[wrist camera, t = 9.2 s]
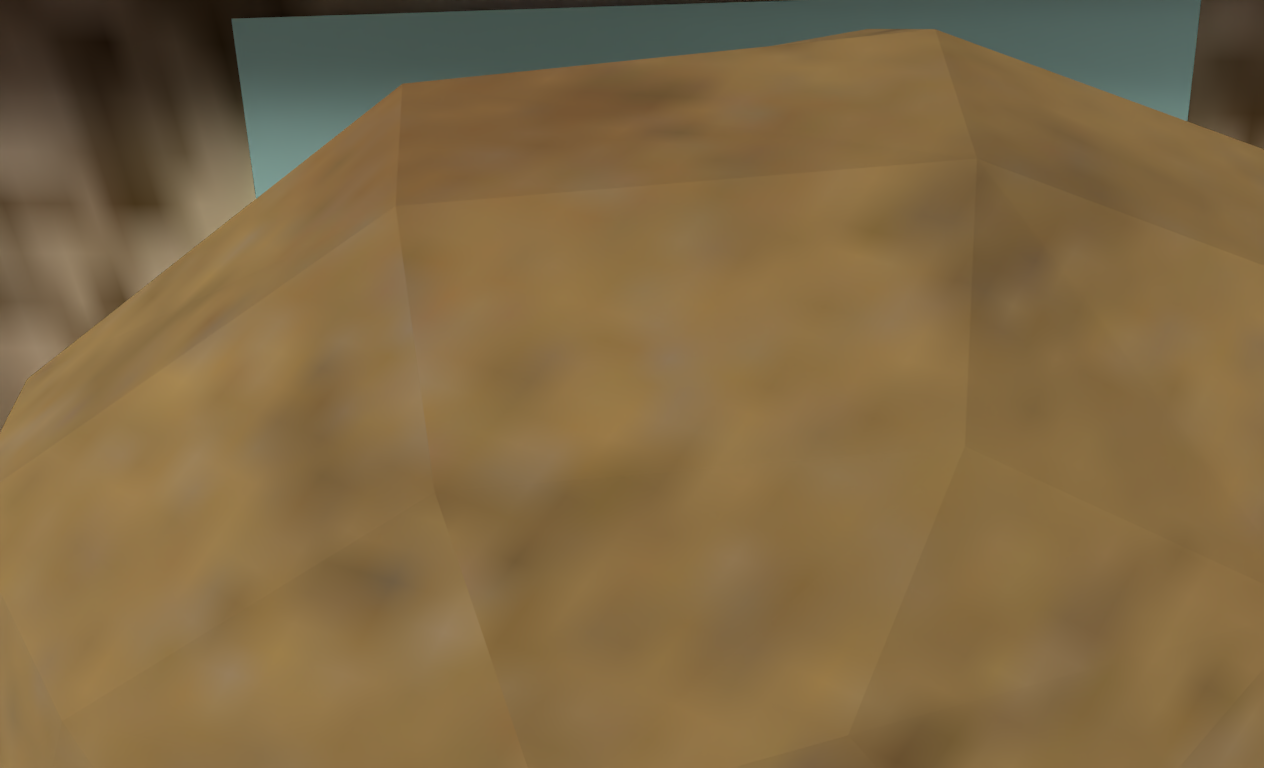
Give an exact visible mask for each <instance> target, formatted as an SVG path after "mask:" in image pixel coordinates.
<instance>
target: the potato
mask: <svg viewBox="0 0 1264 768" xmlns="http://www.w3.org/2000/svg"><path fill="white" fill-rule="evenodd" d="M0 768H1264V149H1261V148H1259V147H1256V146H1253V145H1250V144H1248V143H1245V142H1242V141H1240V140H1237V139H1234V138H1231V137H1229V136H1226V135H1223V134H1220V133H1218V132H1215V131H1212V130H1209V129H1207V128H1204V127H1201V126H1199V125H1196V124H1193V123H1190V122H1188V121H1185V120H1182V119H1179V118H1177V117H1174V116H1171V115H1168V114H1166V113H1163V112H1160V111H1157V110H1155V109H1152V108H1149V107H1147V106H1144V105H1141V104H1138V103H1136V102H1133V101H1130V100H1127V99H1125V98H1122V97H1119V96H1116V95H1114V94H1111V93H1108V92H1106V91H1103V90H1100V89H1097V88H1095V87H1092V86H1089V85H1086V84H1084V83H1081V82H1078V81H1075V80H1073V79H1070V78H1067V77H1065V76H1062V75H1059V74H1056V73H1054V72H1051V71H1048V70H1045V69H1043V68H1040V67H1037V66H1034V65H1032V64H1029V63H1026V62H1023V61H1021V60H1018V59H1015V58H1013V57H1010V56H1007V55H1004V54H1002V53H999V52H996V51H993V50H991V49H988V48H985V47H982V46H980V45H977V44H974V43H972V42H969V41H966V40H963V39H961V38H958V37H955V36H952V35H950V34H947V33H944V32H941V31H939V30H936V29H864V30H859V31H853V32H847V33H842V34H836V35H830V36H825V37H819V38H813V39H808V40H802V41H796V42H791V43H785V44H779V45H774V46H766V47H756V48H746V49H736V50H727V51H717V52H707V53H697V54H687V55H678V56H668V57H658V58H648V59H639V60H629V61H619V62H609V63H599V64H590V65H580V66H570V67H560V68H551V69H541V70H531V71H521V72H511V73H502V74H492V75H482V76H472V77H463V78H453V79H443V80H433V81H423V82H414V83H404V84H401V85H400V86H399V87H398V88H396V89H395V90H394V91H392V92H391V93H390V94H389V95H387V96H386V97H385V98H384V99H382V100H381V101H380V102H378V103H377V104H376V105H375V106H373V107H372V108H371V109H370V110H368V111H367V112H366V113H365V114H363V115H362V116H361V117H359V118H358V119H357V120H356V121H354V122H353V123H352V124H351V125H349V126H348V127H347V128H345V129H344V130H343V131H342V132H340V133H339V134H338V135H337V136H335V137H334V138H333V139H332V140H330V141H329V142H328V143H326V144H325V145H324V146H323V147H321V148H320V149H319V150H318V151H316V152H315V153H314V154H312V155H311V156H310V157H309V158H307V159H306V160H305V161H304V162H302V163H301V164H300V165H298V166H297V167H296V168H295V169H293V170H292V171H291V172H290V173H288V174H287V175H286V176H285V177H283V178H282V179H281V180H279V181H278V182H277V183H276V184H274V185H273V186H272V187H271V188H269V189H268V190H267V191H265V192H264V193H263V194H262V195H260V196H259V197H258V198H257V199H255V200H254V201H253V202H251V203H250V204H249V205H248V206H246V207H245V208H244V209H243V210H241V211H240V212H239V213H238V214H236V215H235V216H234V217H232V218H231V219H230V220H229V221H227V222H226V223H225V224H224V225H222V226H221V227H220V228H218V229H217V230H216V231H215V232H213V233H212V234H211V235H210V236H208V237H207V238H206V239H205V240H203V241H202V242H201V243H199V244H198V245H197V246H196V247H194V248H193V249H192V250H191V251H189V252H188V253H187V254H185V255H184V256H183V257H182V258H180V259H179V260H178V261H177V262H175V263H174V264H173V265H171V266H170V267H169V268H168V269H166V270H165V271H164V272H163V273H161V274H160V275H159V276H158V277H156V278H155V279H154V280H152V281H151V282H150V283H149V284H147V285H146V286H145V287H144V288H142V289H141V290H140V291H138V292H137V293H136V294H135V295H133V296H132V297H131V298H130V299H128V300H127V301H126V302H125V303H123V304H122V305H121V306H119V307H118V308H117V309H116V310H114V311H113V312H112V313H111V314H109V315H108V316H107V317H105V318H104V319H103V320H102V321H100V322H99V323H98V324H97V325H95V326H94V327H93V328H91V329H90V330H89V331H88V332H86V333H85V334H84V335H83V336H81V337H80V338H79V339H78V340H76V341H75V342H74V343H72V344H71V345H70V346H69V347H67V348H66V349H65V350H64V351H62V352H61V353H60V354H58V355H57V356H56V357H55V358H53V359H52V360H51V361H50V362H48V363H47V364H46V365H44V366H43V367H42V368H41V369H39V370H38V371H37V372H36V373H34V374H33V375H32V376H31V377H29V378H28V379H27V380H26V382H25V384H24V386H23V388H22V390H21V392H20V394H19V396H18V398H17V400H16V402H15V404H14V406H13V408H12V410H11V412H10V414H9V416H8V418H7V420H6V422H5V424H4V426H3V428H2V430H1V432H0Z"/></svg>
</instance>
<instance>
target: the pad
mask: <svg viewBox="0 0 1264 768" xmlns="http://www.w3.org/2000/svg"><path fill="white" fill-rule="evenodd" d="M1200 6H1201V0H787V1H757V2H726V3H696V4H665V5H634V6H604V7H573V8H543V9H512V10H481V11H451V12H420V13H390V14H359V15H329V16H298V17H267V18H237V19H231V20H232V27H233V34H234V42H235V49H236V56H237V63H238V71H239V78H240V85H241V92H242V100H243V107H244V114H245V121H246V129H247V136H248V143H249V150H250V158H251V165H252V172H253V180H254V187H255V194H256V199H257V198H258V197H259V196H260V195H262V194H263V193H264V192H265V191H267V190H268V189H269V188H271V187H272V186H273V185H274V184H276V183H277V182H278V181H279V180H281V179H282V178H283V177H285V176H286V175H287V174H288V173H290V172H291V171H292V170H293V169H295V168H296V167H297V166H298V165H300V164H301V163H302V162H304V161H305V160H306V159H307V158H309V157H310V156H311V155H312V154H314V153H315V152H316V151H318V150H319V149H320V148H321V147H323V146H324V145H325V144H326V143H328V142H329V141H330V140H332V139H333V138H334V137H335V136H337V135H338V134H339V133H340V132H342V131H343V130H344V129H345V128H347V127H348V126H349V125H351V124H352V123H353V122H354V121H356V120H357V119H358V118H359V117H361V116H362V115H363V114H365V113H366V112H367V111H368V110H370V109H371V108H372V107H373V106H375V105H376V104H377V103H378V102H380V101H381V100H382V99H384V98H385V97H386V96H387V95H389V94H390V93H391V92H392V91H394V90H395V89H396V88H398V87H399V86H400V85H401V84H404V83H414V82H423V81H433V80H443V79H453V78H463V77H472V76H482V75H492V74H502V73H511V72H521V71H531V70H541V69H551V68H560V67H570V66H580V65H590V64H599V63H609V62H619V61H629V60H639V59H648V58H658V57H668V56H678V55H687V54H697V53H707V52H717V51H727V50H736V49H746V48H756V47H766V46H774V45H779V44H785V43H791V42H796V41H802V40H808V39H813V38H819V37H825V36H830V35H836V34H842V33H847V32H853V31H859V30H864V29H936V30H939V31H941V32H944V33H947V34H950V35H952V36H955V37H958V38H961V39H963V40H966V41H969V42H972V43H974V44H977V45H980V46H982V47H985V48H988V49H991V50H993V51H996V52H999V53H1002V54H1004V55H1007V56H1010V57H1013V58H1015V59H1018V60H1021V61H1023V62H1026V63H1029V64H1032V65H1034V66H1037V67H1040V68H1043V69H1045V70H1048V71H1051V72H1054V73H1056V74H1059V75H1062V76H1065V77H1067V78H1070V79H1073V80H1075V81H1078V82H1081V83H1084V84H1086V85H1089V86H1092V87H1095V88H1097V89H1100V90H1103V91H1106V92H1108V93H1111V94H1114V95H1116V96H1119V97H1122V98H1125V99H1127V100H1130V101H1133V102H1136V103H1138V104H1141V105H1144V106H1147V107H1149V108H1152V109H1155V110H1157V111H1160V112H1163V113H1166V114H1168V115H1171V116H1174V117H1177V118H1179V119H1182V120H1185V121H1188V112H1189V103H1190V94H1191V85H1192V77H1193V68H1194V59H1195V50H1196V41H1197V33H1198V24H1199V15H1200Z"/></svg>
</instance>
